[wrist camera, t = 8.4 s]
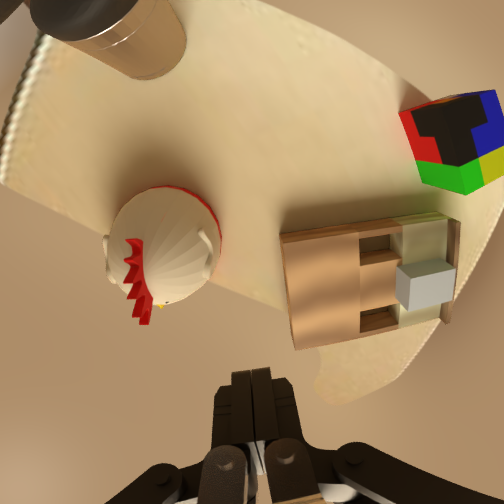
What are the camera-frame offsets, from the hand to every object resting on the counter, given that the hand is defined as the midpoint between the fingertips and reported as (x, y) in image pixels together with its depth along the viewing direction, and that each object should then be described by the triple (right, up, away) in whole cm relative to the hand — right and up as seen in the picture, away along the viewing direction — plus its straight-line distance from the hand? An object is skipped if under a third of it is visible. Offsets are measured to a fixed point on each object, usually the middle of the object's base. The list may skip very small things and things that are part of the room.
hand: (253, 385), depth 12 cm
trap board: (+16, +2, +30) cm, 34 cm away
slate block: (+22, +2, +26) cm, 34 cm away
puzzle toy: (+25, +21, +24) cm, 41 cm away
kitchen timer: (-11, +7, +28) cm, 30 cm away
